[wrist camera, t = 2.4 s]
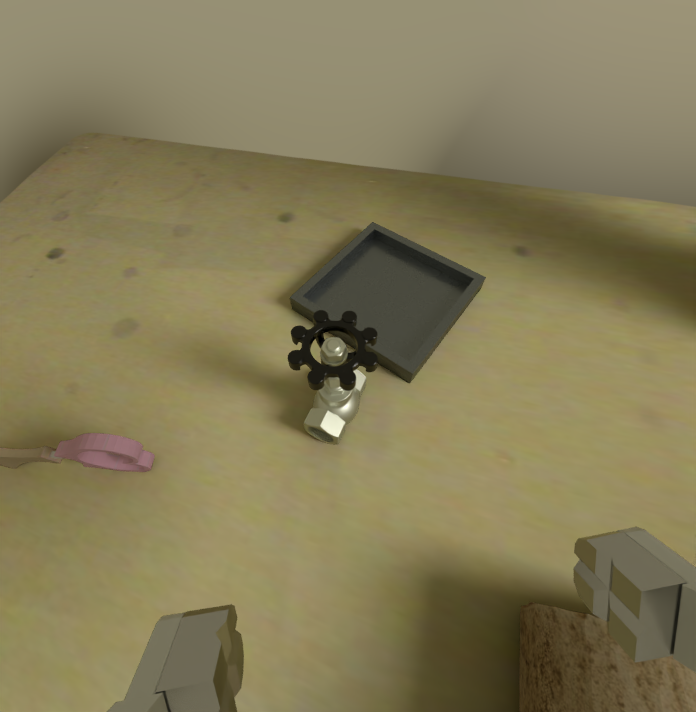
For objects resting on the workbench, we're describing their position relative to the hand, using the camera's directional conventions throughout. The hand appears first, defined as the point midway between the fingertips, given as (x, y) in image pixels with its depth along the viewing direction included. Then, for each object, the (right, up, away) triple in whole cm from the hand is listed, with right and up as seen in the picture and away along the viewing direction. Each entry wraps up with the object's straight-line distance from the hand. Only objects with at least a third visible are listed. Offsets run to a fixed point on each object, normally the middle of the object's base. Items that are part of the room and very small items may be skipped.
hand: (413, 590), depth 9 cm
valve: (-3, 0, +27) cm, 28 cm away
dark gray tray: (+3, +12, +35) cm, 37 cm away
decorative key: (-28, -4, +25) cm, 38 cm away
